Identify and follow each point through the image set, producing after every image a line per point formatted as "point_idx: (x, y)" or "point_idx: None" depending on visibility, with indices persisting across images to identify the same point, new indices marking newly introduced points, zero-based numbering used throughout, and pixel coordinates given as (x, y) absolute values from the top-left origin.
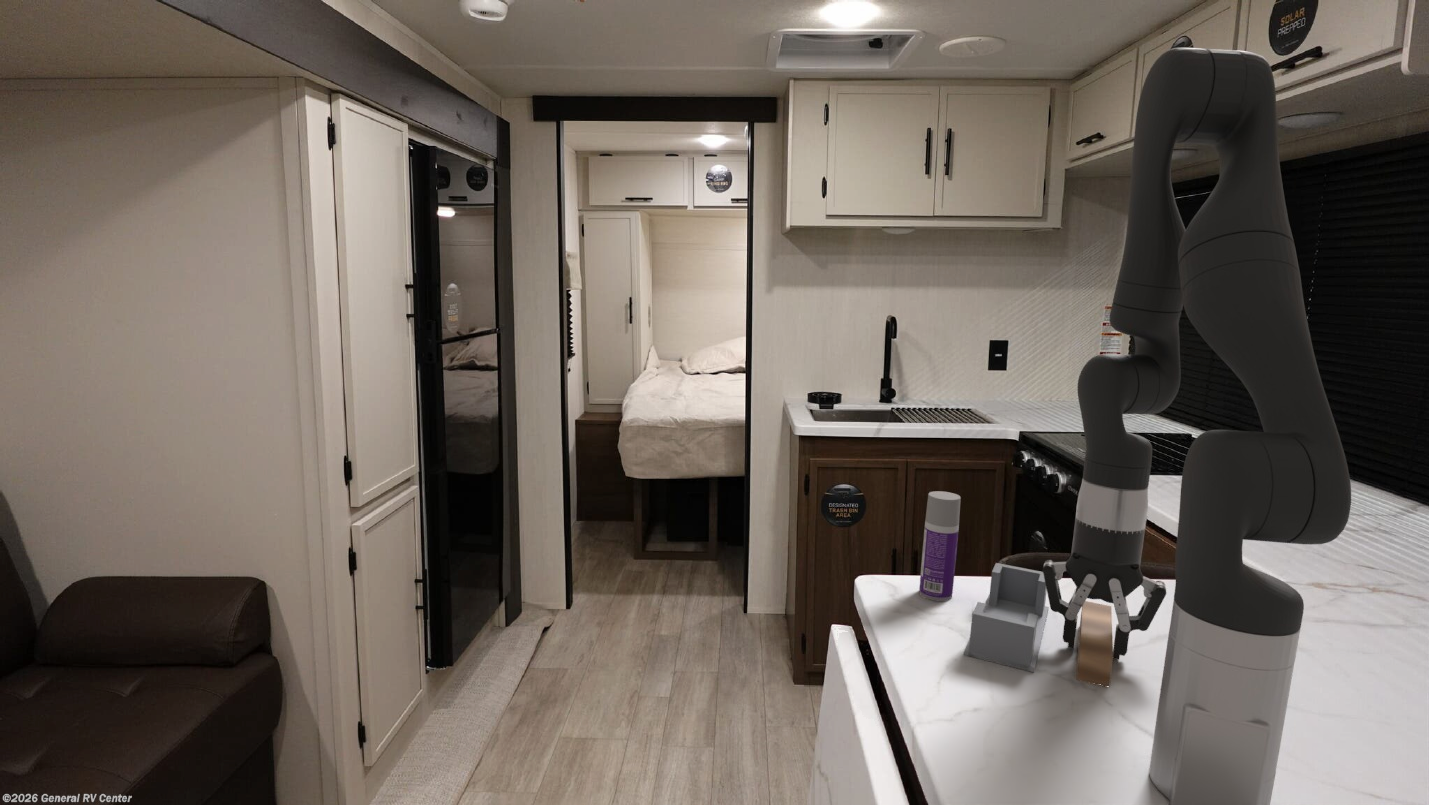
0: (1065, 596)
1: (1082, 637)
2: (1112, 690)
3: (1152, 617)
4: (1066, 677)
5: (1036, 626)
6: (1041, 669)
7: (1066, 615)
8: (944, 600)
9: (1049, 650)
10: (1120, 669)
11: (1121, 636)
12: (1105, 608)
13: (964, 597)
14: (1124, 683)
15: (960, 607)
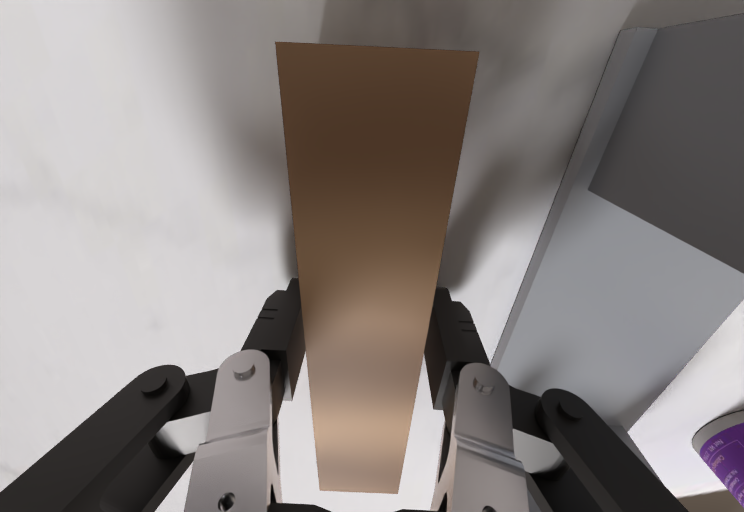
0: (412, 499)
1: (435, 246)
2: (301, 32)
3: (62, 444)
4: (478, 63)
5: (517, 369)
6: (571, 89)
7: (501, 380)
8: (733, 415)
9: (498, 263)
10: (288, 235)
11: (269, 333)
12: (335, 477)
13: (656, 442)
14: (266, 132)
15: (696, 399)
